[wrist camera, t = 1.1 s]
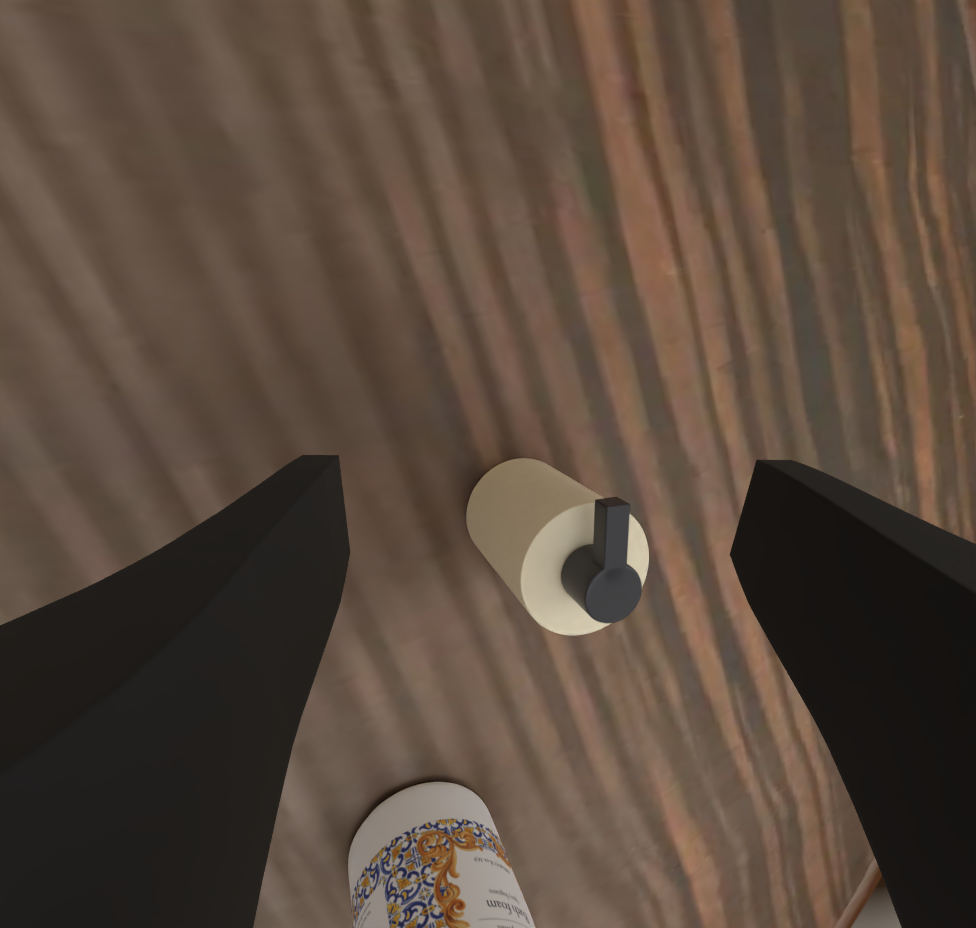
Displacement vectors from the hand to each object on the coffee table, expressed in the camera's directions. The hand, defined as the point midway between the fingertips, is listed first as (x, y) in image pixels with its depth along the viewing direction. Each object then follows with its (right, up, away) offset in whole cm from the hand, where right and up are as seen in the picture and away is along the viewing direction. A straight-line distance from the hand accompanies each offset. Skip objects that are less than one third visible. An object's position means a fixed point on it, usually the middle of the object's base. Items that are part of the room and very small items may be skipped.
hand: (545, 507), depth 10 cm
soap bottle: (0, -1, +15) cm, 15 cm away
